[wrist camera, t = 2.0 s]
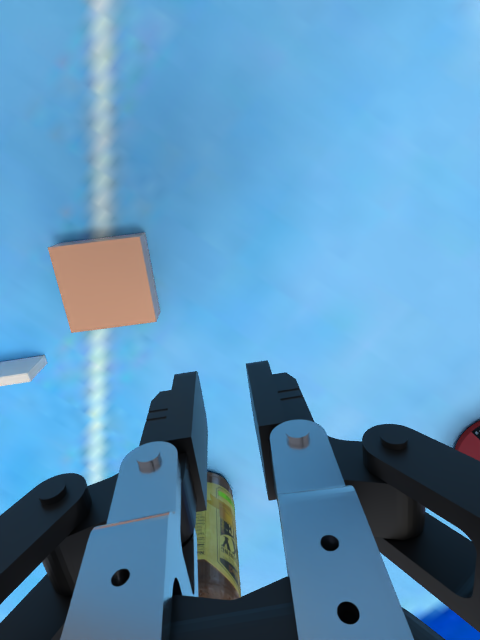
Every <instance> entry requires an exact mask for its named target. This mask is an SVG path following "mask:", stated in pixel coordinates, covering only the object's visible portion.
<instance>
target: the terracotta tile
mask: <svg viewBox="0 0 480 640" xmlns="http://www.w3.org/2000/svg"><path fill="white" fill-rule="evenodd" d="M48 250H49V254H50V257H51V261H52V265H53V268H54V272H55V275H56V279H57V283H58V286H59V290H60V293H61V297H62V301H63V304H64V308H65V311H66V315H67V319H68V322H69V326H70V329H71V333H73V332H81V331H89V330H96V329H104V328H112V327H120V326H127V325H135V324H143V323H150V322H157V319H158V316H159V314H160V307H159V302H158V297H157V292H156V287H155V281H154V276H153V271H152V266H151V261H150V255H149V250H148V245H147V240H146V234H145V233H137V234H129V235H120V236H112V237H104V238H96V239H88V240H80V241H71V242H63V243H59V244H56V245H54V246H51V247H48Z"/></svg>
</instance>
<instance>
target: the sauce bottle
mask: <svg viewBox="0 0 480 640" xmlns="http://www.w3.org/2000/svg"><path fill="white" fill-rule="evenodd" d="M195 531H196V536H197V563H198V597H204V598H213V599H223V600H234V599H238V598H240V597H241V589H240V577H239V560H238V549H237V537H236V522H235V507H234V501H233V495H232V491H231V488H230V486H229V484H228V483H227V481H226V480H225V479H224V478H223V477H222V476H220V475H217V474H215V473H211V472H207V510H206V511H200V512H196V524H195Z"/></svg>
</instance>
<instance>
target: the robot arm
mask: <svg viewBox="0 0 480 640" xmlns="http://www.w3.org/2000/svg"><path fill="white" fill-rule="evenodd" d="M246 369H247V376H248V383H249V390H250V397H251V404H252V411H253V417H254V423H255V429H256V434H257V440H258V445H259V450H260V456H261V461H262V467H263V472H264V478H265V483H266V489H267V494H268V499H269V500H275V499H277V503H278V507H279V514H280V522H281V529H282V537H283V544H284V551H285V558H286V566H287V573H288V577H285V578H283V579H280V580H278V581H276V582H274V583H271V584H269V585H267V586H265V587H262V588H260V589H258V590H256V591H254V592H251V593H249V594H247V595H245V596H242V597H240V598H238V599H234V600H223V599H213V598H204V597H198V563H197V536H196V531H195V524H196V512H200V511H206V510H207V442H208V429H207V419H206V412H205V407H204V402H203V396H202V391H201V386H200V381H199V376H198V372H197V371H195V372H188V373H181V374H175V375H174V380H173V385H172V390H168V391H162V392H160V393H159V394H158V395H157V396H156V397H155V398H154V399H153V400H152V401H151V405H150V408H149V413H148V416H147V419H146V420H147V422H146V423H145V427H144V430H143V434H142V437H141V441H140V445H139V447H137V448H135V449H134V450H132V451H131V452H130V453H128V454H127V455H126V457H125V458H124V459H123V461H122V463H121V466H120V470H119V473H118V474H116V475H114V476H112V477H110V478H108V479H105V480H103V481H100V482H97V483H95V484H92V485H90V486H87V484H86V481H85V479H84V477H82V476H81V475H79V474H75V473H67V474H61V475H58V476H54V477H52V478H50V479H48V480H46V481H44V482H42V483H40V484H39V485H38V486H36V487H35V488H34V489H32V490H31V491H30V492H29V493H27V494H26V495H25V496H24V497H23V498H21V499H20V500H19V501H18V502H16V503H15V504H14V505H13V506H11V507H10V508H9V509H8V510H7V511H5V512H4V513H3V514H2V515H0V604H1V603H2V602H3V601H4V600H5V599H6V598H7V597H8V596H9V595H10V594H11V593H12V592H13V591H14V590H15V589H16V588H17V587H18V586H19V585H20V584H21V583H22V582H23V581H24V580H25V579H26V578H27V577H28V576H29V575H30V573H31V572H32V571H33V570H34V569H35V568H36V567H37V566H38V565H39V564H40V563H41V562H43V565H44V567H45V570H46V572H47V574H46V575H45V576H44V578H43V579H42V580H41V581H40V582H39V583H38V584H37V585H36V586H35V587H34V588H33V589H32V590H31V591H30V592H29V593H28V594H27V596H26V597H25V598H24V599H23V600H22V601H21V602H20V603H19V604H18V605H17V606H16V607H15V608H14V609H13V610H12V611H11V612H10V613H9V615H8V616H7V617H6V618H5V619H4V620H3V621H2V622H1V623H0V640H445V639H444V638H443V637H441V636H440V635H439V634H437V633H436V632H435V631H434V630H432V629H431V628H430V627H428V626H427V625H426V624H424V623H423V622H422V621H421V620H419V619H418V618H417V617H415V616H414V615H413V614H411V613H410V612H408V611H407V610H405V609H404V608H402V607H401V605H400V603H399V600H398V597H397V595H396V592H395V590H394V587H393V585H392V582H391V580H390V577H389V575H388V572H387V570H386V567H385V564H384V562H383V559H382V557H381V554H380V552H381V553H382V554H383V555H384V556H386V557H387V558H388V559H389V560H390V561H392V562H393V563H394V564H395V565H397V566H398V567H399V568H400V569H402V570H403V571H404V572H405V573H407V574H408V575H409V576H410V577H412V578H413V579H414V580H415V581H417V582H418V583H419V584H420V585H422V586H423V587H424V588H425V589H426V590H428V591H429V592H430V593H431V594H433V595H434V596H435V597H436V598H438V599H439V600H440V601H441V602H443V603H444V604H445V605H446V606H448V607H449V608H450V609H451V610H453V611H454V612H455V613H456V614H457V615H459V616H460V617H461V618H462V619H464V620H465V621H466V622H467V623H469V624H470V625H471V626H472V627H474V628H475V629H476V630H477V631H479V632H480V461H479V460H477V459H474V458H472V457H470V456H468V455H466V454H464V453H462V452H460V451H457V450H455V449H453V448H451V447H449V446H447V445H445V444H443V443H440V442H438V441H436V440H434V439H432V438H430V437H428V436H426V435H424V434H421V433H419V432H417V431H415V430H413V429H411V428H408V427H405V426H402V425H396V424H382V425H377V426H374V427H372V428H370V429H368V430H367V431H366V432H365V433H364V435H363V438H362V442H360V441H346V440H339V439H335V438H332V437H329V436H327V434H326V432H325V430H324V429H323V427H321V426H320V425H319V424H317V423H315V422H314V420H313V418H312V415H311V413H310V411H309V409H308V406H307V404H306V402H305V399H304V397H303V395H302V393H301V390H300V388H299V386H298V383H297V381H296V379H295V378H293V377H292V376H290V375H289V374H287V373H279V374H273V375H272V372H271V369H270V366H269V363H268V360H267V361H260V362H254V363H247V364H246ZM425 507H426V508H428V509H429V510H431V511H432V512H434V513H435V514H437V515H439V516H440V517H442V518H443V519H445V520H447V521H448V522H450V523H451V524H453V525H455V526H456V527H458V528H459V529H461V530H462V531H463V532H464V533H465V534H466V535H467V536H468V537H469V538H470V539H471V541H470V540H469V539H467V538H465V537H464V536H462V535H461V534H459V533H458V532H456V531H454V530H453V529H451V528H450V527H448V526H447V525H445V524H444V523H442V522H440V521H439V520H437V519H436V518H434V517H433V516H431V515H429V514H428V513H426V512H425Z"/></svg>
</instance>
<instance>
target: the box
mask: <svg viewBox="0 0 480 640" xmlns="http://www.w3.org/2000/svg"><path fill="white" fill-rule="evenodd" d="M46 364H47V361H46V358H45V355H43V356H36V357H30V358H23V359H16V360H10V361H3V362H0V386H4V385H11V384H18V383H24V382H31V381H32V379H33V378H34V377H35V376H36V375H37V374H38V373H39V372H40V371H41V370H42V368H43V367H44V366H45V365H46Z"/></svg>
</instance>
